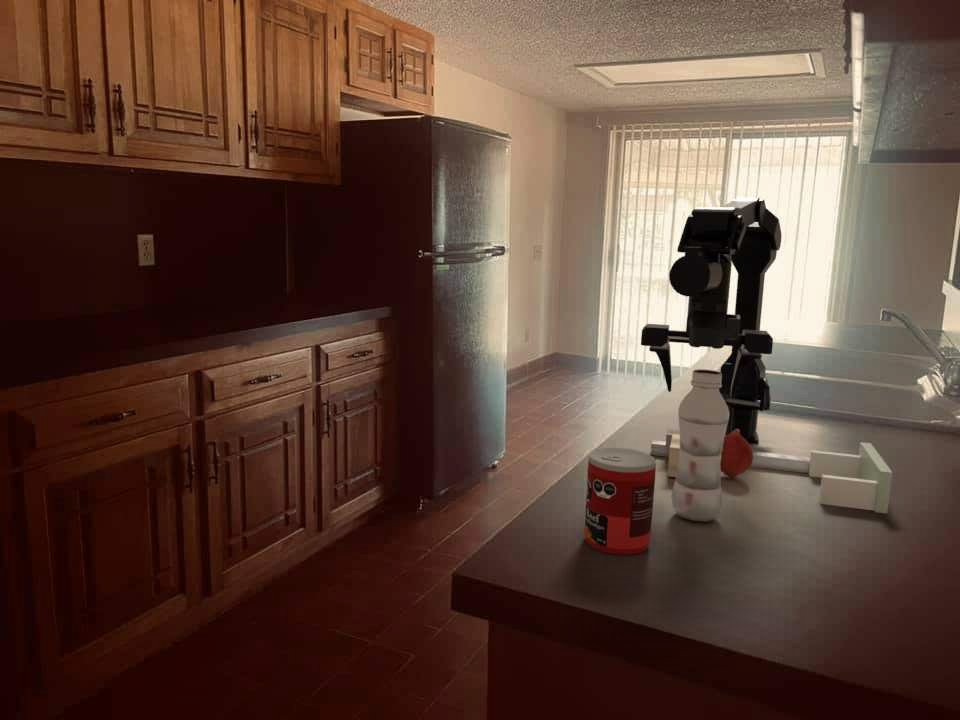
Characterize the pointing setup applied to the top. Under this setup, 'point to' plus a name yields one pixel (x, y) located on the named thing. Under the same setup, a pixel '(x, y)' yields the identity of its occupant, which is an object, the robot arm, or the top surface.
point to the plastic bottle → (701, 448)
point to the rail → (754, 459)
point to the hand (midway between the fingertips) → (700, 393)
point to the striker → (673, 449)
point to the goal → (853, 478)
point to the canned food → (619, 500)
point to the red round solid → (735, 454)
